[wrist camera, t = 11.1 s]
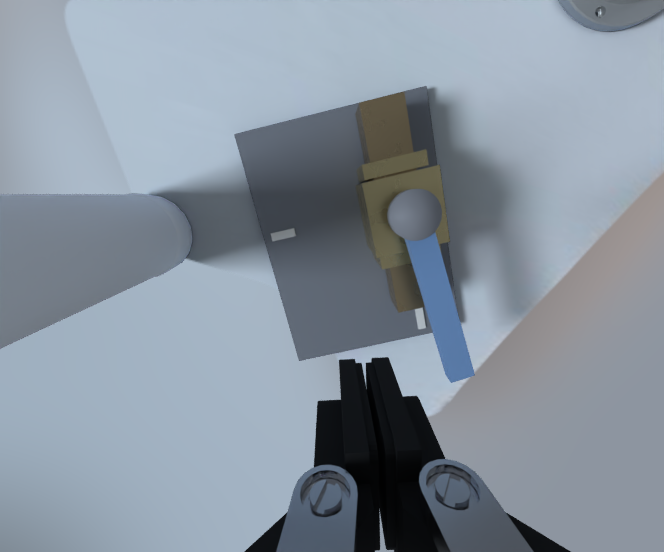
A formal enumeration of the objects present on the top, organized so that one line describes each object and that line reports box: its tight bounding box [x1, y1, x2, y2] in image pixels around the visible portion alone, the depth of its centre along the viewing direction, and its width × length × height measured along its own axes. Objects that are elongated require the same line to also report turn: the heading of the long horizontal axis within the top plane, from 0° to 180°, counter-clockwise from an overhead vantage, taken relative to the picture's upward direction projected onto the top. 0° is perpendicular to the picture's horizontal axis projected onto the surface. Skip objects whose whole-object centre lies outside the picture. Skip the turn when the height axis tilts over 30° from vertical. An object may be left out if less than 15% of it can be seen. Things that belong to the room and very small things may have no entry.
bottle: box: [0, 193, 192, 349], centre depth 18 cm, size 8×8×30 cm
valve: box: [355, 92, 450, 313], centre depth 28 cm, size 6×18×8 cm, turn 13°
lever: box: [387, 189, 475, 383], centre depth 24 cm, size 16×4×1 cm, turn 20°
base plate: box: [234, 86, 457, 361], centre depth 32 cm, size 18×24×1 cm
